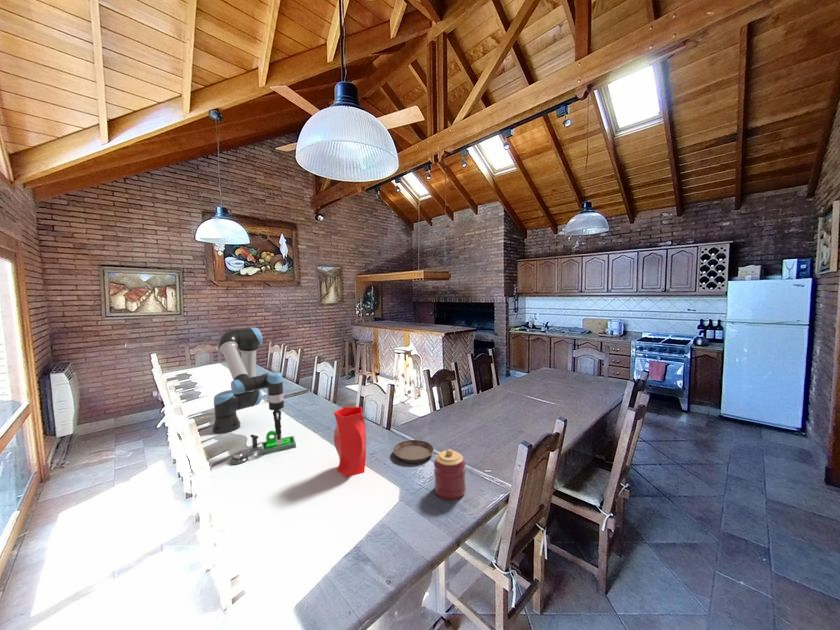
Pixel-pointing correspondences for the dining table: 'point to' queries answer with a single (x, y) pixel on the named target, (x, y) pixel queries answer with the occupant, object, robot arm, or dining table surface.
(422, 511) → the dining table surface
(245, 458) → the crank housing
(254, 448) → the crank
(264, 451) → the tray
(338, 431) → the vase
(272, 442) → the mechanical part
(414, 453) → the plant saucer
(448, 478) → the canister
